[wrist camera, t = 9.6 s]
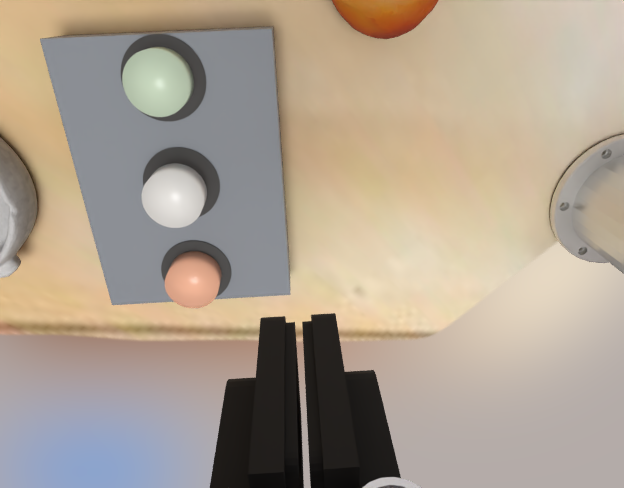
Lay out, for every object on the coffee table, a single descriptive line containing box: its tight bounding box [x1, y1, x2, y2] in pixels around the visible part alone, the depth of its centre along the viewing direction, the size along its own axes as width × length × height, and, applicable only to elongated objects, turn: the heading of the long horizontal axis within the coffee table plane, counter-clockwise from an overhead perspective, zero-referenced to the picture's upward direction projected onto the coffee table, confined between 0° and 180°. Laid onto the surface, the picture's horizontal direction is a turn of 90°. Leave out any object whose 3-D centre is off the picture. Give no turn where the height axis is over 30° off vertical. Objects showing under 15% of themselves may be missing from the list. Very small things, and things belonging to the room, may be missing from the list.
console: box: [40, 26, 290, 305], centre depth 40 cm, size 16×22×4 cm
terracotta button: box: [165, 251, 222, 308], centre depth 40 cm, size 4×4×2 cm
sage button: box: [122, 47, 194, 117], centre depth 33 cm, size 4×4×2 cm
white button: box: [142, 163, 207, 228], centre depth 36 cm, size 4×4×2 cm
